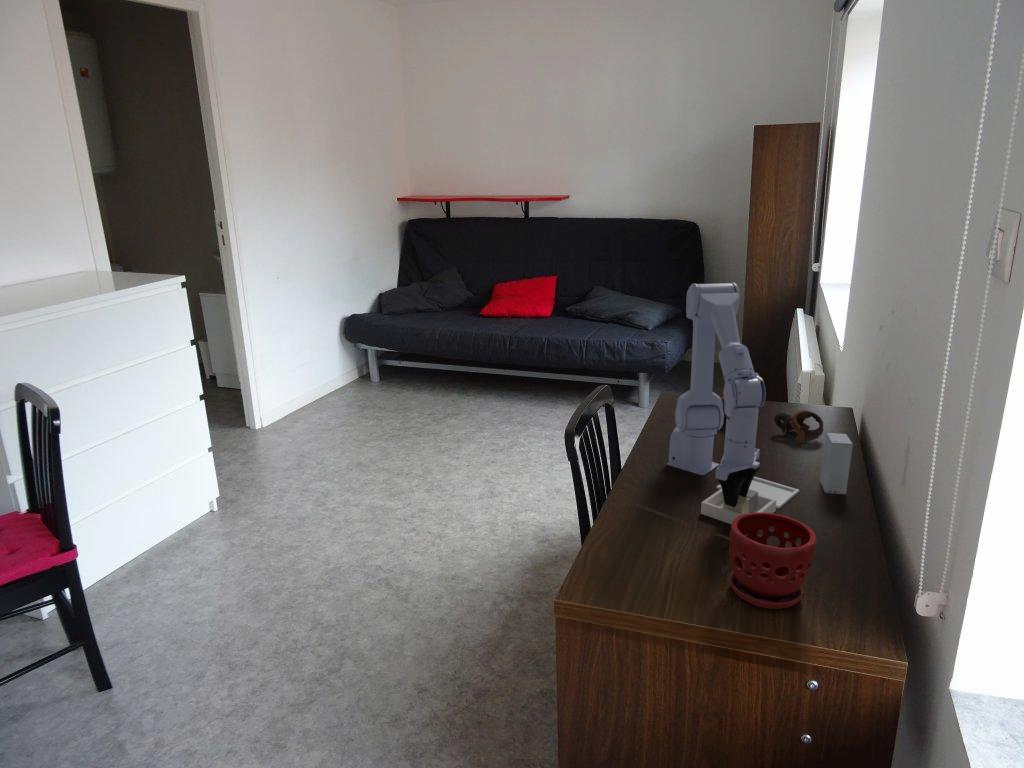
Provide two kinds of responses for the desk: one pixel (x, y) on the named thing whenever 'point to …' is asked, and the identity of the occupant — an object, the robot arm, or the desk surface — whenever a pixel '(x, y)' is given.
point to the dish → (716, 510)
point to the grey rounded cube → (752, 500)
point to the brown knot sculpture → (799, 425)
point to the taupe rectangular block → (739, 505)
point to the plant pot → (770, 559)
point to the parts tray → (772, 490)
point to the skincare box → (836, 463)
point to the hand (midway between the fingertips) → (735, 501)
